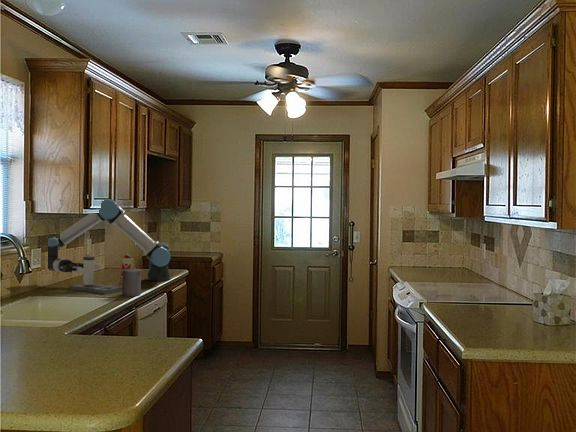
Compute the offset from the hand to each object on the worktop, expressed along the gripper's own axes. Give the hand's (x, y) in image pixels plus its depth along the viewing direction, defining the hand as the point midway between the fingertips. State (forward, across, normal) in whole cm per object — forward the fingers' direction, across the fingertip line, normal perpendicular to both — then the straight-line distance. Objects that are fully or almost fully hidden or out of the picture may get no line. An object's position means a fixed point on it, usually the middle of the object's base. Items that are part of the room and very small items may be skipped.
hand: (90, 268), depth 319 cm
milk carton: (+9, -20, -12) cm, 25 cm away
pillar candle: (+29, 0, -12) cm, 32 cm away
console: (+4, 0, -12) cm, 13 cm away
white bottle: (-2, 0, -9) cm, 9 cm away
